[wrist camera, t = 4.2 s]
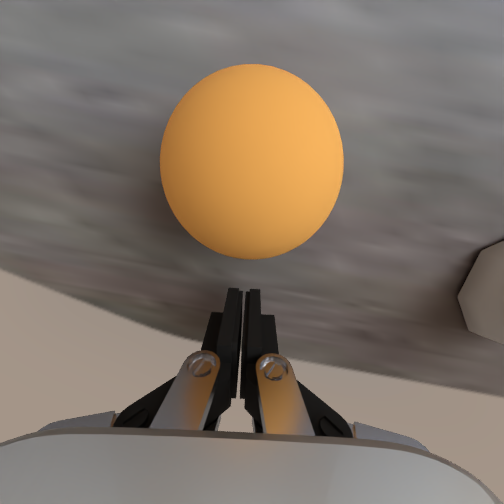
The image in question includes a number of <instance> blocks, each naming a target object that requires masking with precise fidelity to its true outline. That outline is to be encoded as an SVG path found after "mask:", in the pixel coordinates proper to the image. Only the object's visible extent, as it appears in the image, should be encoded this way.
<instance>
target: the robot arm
mask: <svg viewBox="0 0 504 504" xmlns="http://www.w3.org/2000/svg"><path fill="white" fill-rule="evenodd" d="M242 297H243V291H239V288H228V293H227V298H226V303H225V307H224V312H223V313H219V312H212V313H211V316H210V319H209V323H208V326H207V330H206V333H205V337H204V341H203V344H202V348H201V351H197V352H195V353H192V354H191V355H190V356H188V357H187V359H186V360H185V361H184V363H183V365H182V367H181V369H180V371H179V373H178V374H177V376H175V377H174V378H172V379H171V380H169V381H168V382H166V383H164V384H163V385H161V386H160V387H158V388H156V389H155V390H153V391H152V392H150V393H149V394H147V395H145V396H144V397H142V398H141V399H139V400H138V401H136V402H134V403H133V404H132V405H130V406H128V407H127V408H126V409H125V410H123V411H122V412H121V413H117V414H116V413H115V411H110V412H105V413H100V414H94V415H88V416H83V417H77V418H72V419H66V420H61V421H57V422H53V423H50V424H48V425H46V426H45V427H43V428H41V429H40V430H39V431H37V432H35V433H31V434H26V435H23V436H20V437H17V438H14V439H11V440H8V441H5V442H3V443H0V504H503V503H502V502H501V501H500V500H499V499H498V497H496V496H495V494H494V493H493V492H492V491H491V490H490V489H489V488H488V487H487V486H486V485H484V484H483V483H482V482H481V481H480V480H479V479H477V478H476V477H475V476H473V475H472V474H471V473H469V472H468V471H466V470H464V469H462V468H461V467H459V466H457V465H456V464H453V463H452V462H450V461H448V460H446V459H444V458H442V457H439V456H437V455H434V454H432V453H430V452H429V451H428V450H427V448H426V447H425V446H423V445H422V444H421V443H420V442H418V441H417V440H415V439H412V438H410V437H407V436H403V435H400V434H397V433H393V432H389V431H386V430H382V429H379V428H375V427H372V426H368V425H365V424H361V423H358V422H354V424H349V423H347V422H346V421H345V420H344V419H343V418H342V417H341V416H340V415H339V414H338V413H337V412H335V411H334V410H333V409H332V408H331V407H329V406H328V405H327V404H326V403H324V402H323V401H322V400H321V399H320V398H318V397H317V396H316V395H315V394H313V393H312V392H311V391H310V390H308V389H307V388H306V387H305V386H304V385H302V384H301V383H300V382H299V381H297V380H296V378H295V374H294V372H293V369H292V366H291V364H290V362H289V361H288V360H287V359H286V358H285V357H283V356H281V355H279V353H278V344H277V335H276V326H275V317H274V315H262V314H261V301H260V289H250V292H246V296H245V310H244V323H243V337H242V354H241V384H240V399H241V398H243V399H245V409H246V410H247V411H248V412H249V414H250V415H251V416H252V425H253V433H246V432H224V431H218V427H219V423H220V419H221V414H222V413H223V412H224V411H225V410H227V409H228V408H229V407H230V406H231V398H236V392H237V380H238V367H239V356H240V344H241V327H242Z"/></svg>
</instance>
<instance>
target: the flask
mask: <svg viewBox="0 0 504 504" xmlns="http://www.w3.org/2000/svg"><path fill="white" fill-rule="evenodd" d="M457 297H458V300H459V303H460V306H461V309H462V313H463V316H464V319H465V322H466V325H467V328H468V331H470V332H473V333H475V334H478V335H480V336H482V337H485V338H487V339H490V340H492V341H495V342H498V343H500V344H503V345H504V241H502V242H499V243H497V244H495V245H493V246H491V247H488V248H486V249H484V250H482V251H481V252H480V254H479V256H478V258H477V260H476V262H475V264H474V266H473V268H472V269H471V271H470V273H469V275H468V277H467V279H466V281H465V283H464V285H463V287H462V289H461V291H460V293H459V294H458V296H457Z"/></svg>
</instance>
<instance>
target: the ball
mask: <svg viewBox="0 0 504 504" xmlns="http://www.w3.org/2000/svg"><path fill="white" fill-rule="evenodd" d="M343 159H344V157H343V147H342V141H341V137H340V133H339V130H338V127H337V124H336V122H335V119H334V117H333V115H332V113H331V112H330V110H329V108H328V106H327V105H326V104H325V102H324V101H323V100H322V98H321V97H320V96H319V94H318V93H317V92H315V91H314V90H313V89H312V88H311V87H310V86H309V85H308V84H307V83H305V82H304V81H303V80H301V79H300V78H298V77H297V76H295V75H293V74H291V73H289V72H287V71H285V70H282V69H279V68H276V67H273V66H267V65H260V64H243V65H237V66H231V67H228V68H225V69H222V70H219V71H216V72H215V73H213V74H211V75H209V76H207V77H205V78H204V79H202V80H201V81H200V82H198V83H197V84H196V85H194V86H193V87H192V88H191V89H190V90H189V91H188V92H187V93H186V94H185V95H184V97H183V98H182V99H181V101H180V102H179V103H178V105H177V106H176V108H175V109H174V111H173V113H172V115H171V117H170V119H169V121H168V124H167V126H166V129H165V132H164V135H163V140H162V144H161V152H160V173H161V179H162V185H163V188H164V192H165V196H166V198H167V200H168V203H169V205H170V207H171V209H172V211H173V213H174V215H175V216H176V218H177V219H178V221H179V222H180V223H181V225H182V226H183V227H184V228H185V229H186V230H187V231H188V233H189V234H190V235H192V236H193V237H194V238H195V239H196V240H197V241H199V242H200V243H202V244H203V245H205V246H206V247H208V248H210V249H212V250H214V251H215V252H218V253H221V254H223V255H226V256H230V257H234V258H240V259H264V258H270V257H274V256H278V255H281V254H283V253H286V252H288V251H290V250H292V249H294V248H296V247H298V246H299V245H301V244H302V243H304V242H305V241H306V240H307V239H309V238H310V237H311V236H312V235H313V234H314V233H315V232H316V231H317V230H318V229H319V228H320V227H321V226H322V224H323V223H324V221H325V220H326V219H327V217H328V216H329V214H330V212H331V210H332V209H333V207H334V204H335V202H336V199H337V197H338V194H339V191H340V187H341V183H342V176H343Z"/></svg>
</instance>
